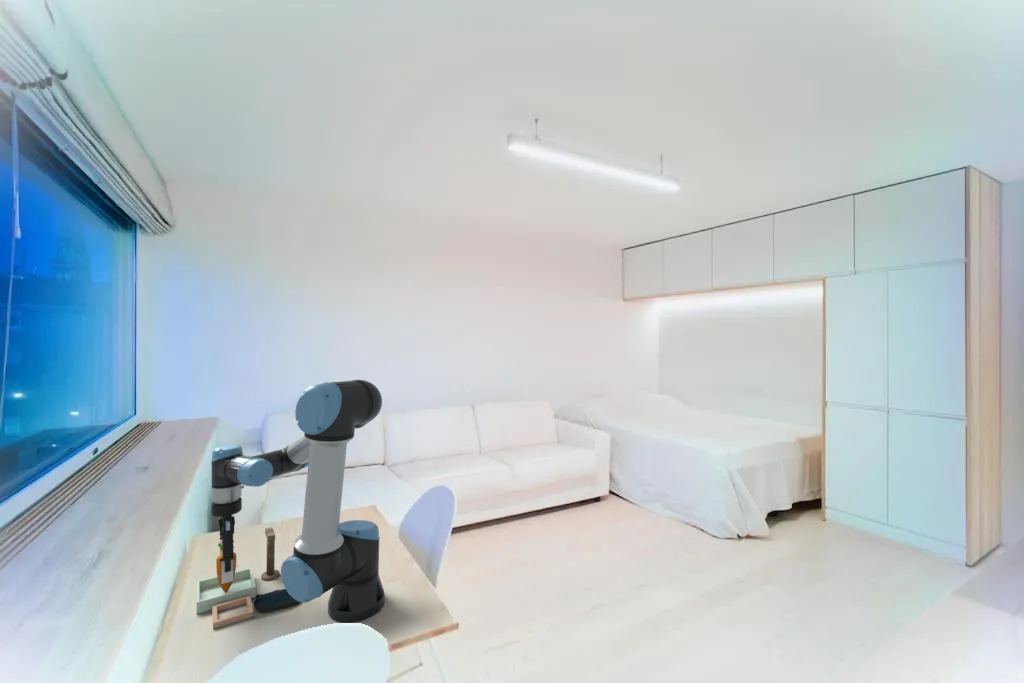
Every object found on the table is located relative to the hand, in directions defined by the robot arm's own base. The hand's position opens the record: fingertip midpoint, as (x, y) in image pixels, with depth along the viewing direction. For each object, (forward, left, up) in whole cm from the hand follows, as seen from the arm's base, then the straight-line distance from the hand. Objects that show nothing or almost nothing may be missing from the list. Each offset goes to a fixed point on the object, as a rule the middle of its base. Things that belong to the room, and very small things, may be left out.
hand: (226, 571), depth 130 cm
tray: (0, 0, -7) cm, 7 cm away
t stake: (+5, -12, -7) cm, 15 cm away
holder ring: (-12, -1, -7) cm, 14 cm away
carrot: (0, 0, -6) cm, 6 cm away
